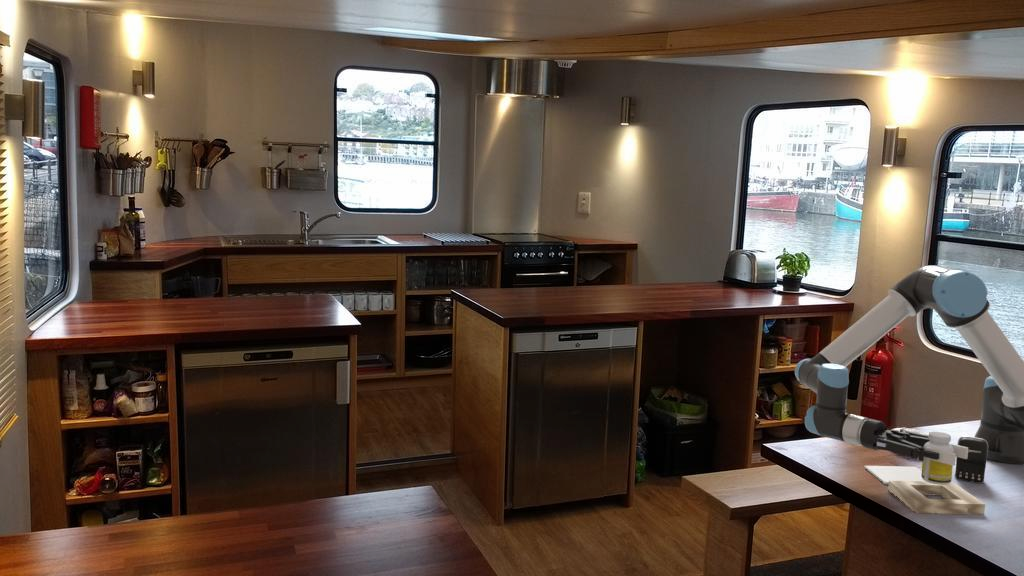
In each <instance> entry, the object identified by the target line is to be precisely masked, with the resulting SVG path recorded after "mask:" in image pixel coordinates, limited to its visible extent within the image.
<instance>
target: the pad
mask: <svg viewBox="0 0 1024 576" xmlns="http://www.w3.org/2000/svg"><path fill="white" fill-rule="evenodd" d="M863 466H864V467H863V468H864V469H865V470H866V469H867V470H866V471H868V472H869V473H870V474H872V475H873V477H875V478H876V479H878V481H880V482H881V481H882V482H883V483H882V482H881V483H882V484H883V485H889V481H925V480H923V479H922V476H921V475H922V469H920V468H919V467H917V466H904V465H903V466H901V465H900V466H896V465H893V466H892V465H890V466H889V465H863Z"/></svg>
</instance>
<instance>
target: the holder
mask: <svg viewBox="0 0 1024 576" xmlns="http://www.w3.org/2000/svg"><path fill="white" fill-rule="evenodd" d="M887 488H888V489H887V490H889V493H891V494H892V493H893V494H894V495H893V494H892V495H893V496H895V497H896V496H897V497H898V498H899V499H900V500H899V499H898V498H897V497H896V498H897V499H898V500H899V501H900V502H902V501H903V502H904V503H905V506H906V507H908V506H909V507H910V508H911V509H910V508H909V507H908V508H909V509H910V510H911V511H912V512H914V511H915V512H916V513H915V512H914V513H915V514H935V513H937V514H939V515H940V514H941V515H943V514H945V515H946V514H948V515H985V512H986V511H985V510H986V503H984V502H982V501H981V500H980V499H978V498H976V497H975V496H974V495H972V494H971V493H969V492H968V491H967V490H965V489H963V488H962V487H961V486H960V485H958V484H956V483H955V482H954V481H951V483H950V484H947V485H937V484H932V483H929V482H926V481H889V484H888V487H887ZM923 494H935V495H934V496H941V497H943V499H942V498H941V499H940V498H937V499H936V498H935V499H934V498H928V497H926V495H923ZM903 502H902V503H903ZM904 503H903V504H904Z"/></svg>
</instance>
